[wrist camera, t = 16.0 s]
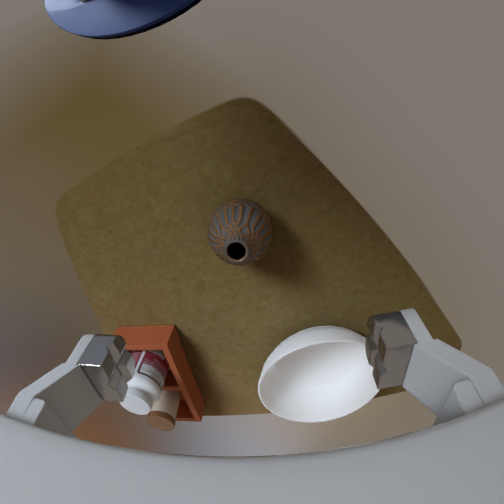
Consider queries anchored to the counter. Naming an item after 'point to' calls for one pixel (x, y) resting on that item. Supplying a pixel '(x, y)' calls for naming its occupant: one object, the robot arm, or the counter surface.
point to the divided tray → (178, 365)
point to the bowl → (317, 375)
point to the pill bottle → (146, 381)
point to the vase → (240, 232)
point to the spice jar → (165, 410)
